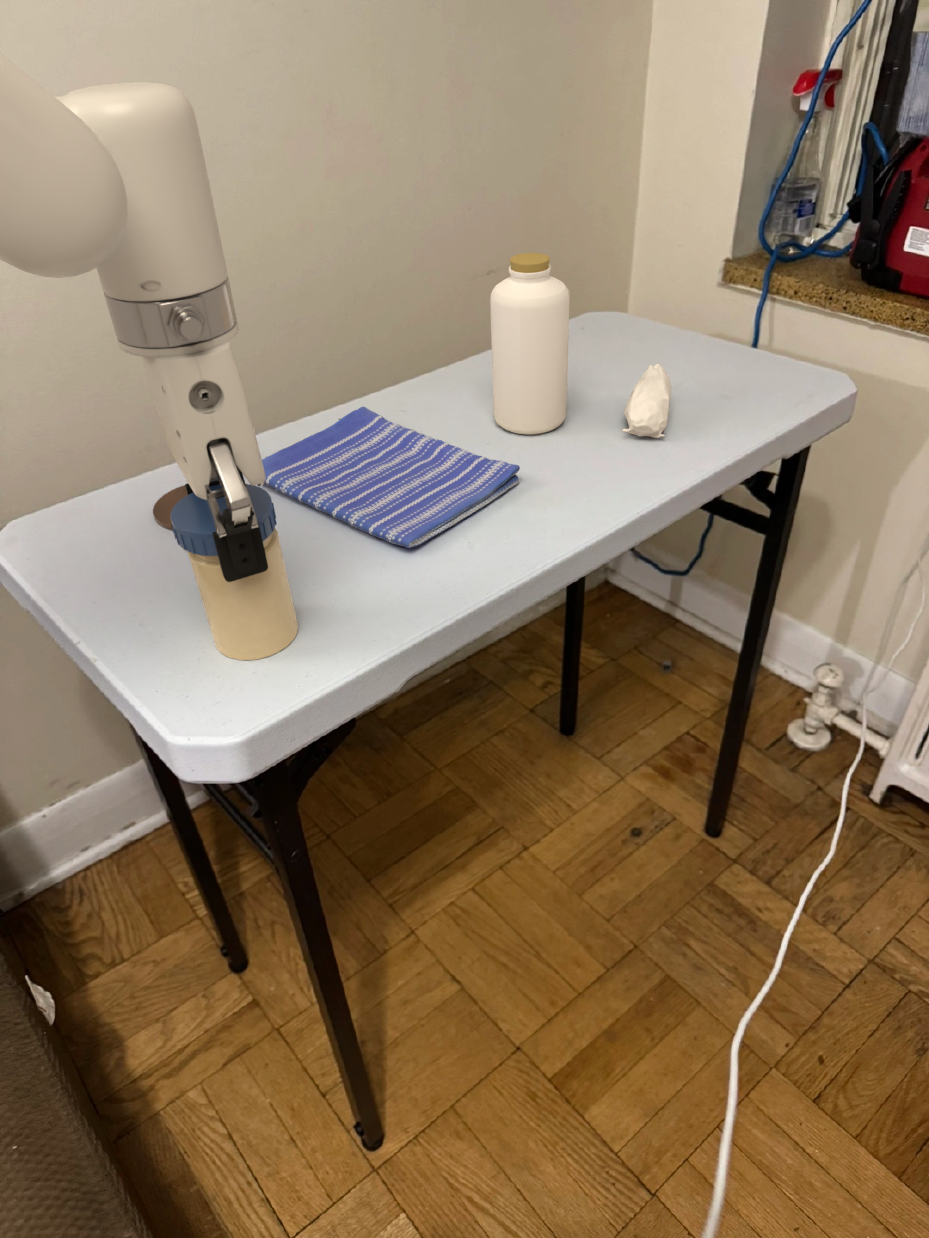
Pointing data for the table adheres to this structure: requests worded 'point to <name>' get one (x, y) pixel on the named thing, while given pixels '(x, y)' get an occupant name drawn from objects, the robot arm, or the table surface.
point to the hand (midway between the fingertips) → (231, 547)
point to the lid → (197, 523)
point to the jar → (248, 605)
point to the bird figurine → (649, 403)
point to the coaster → (168, 506)
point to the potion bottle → (530, 346)
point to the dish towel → (387, 478)
